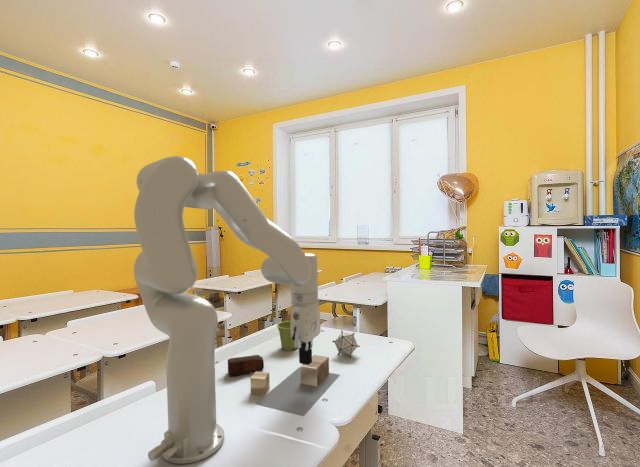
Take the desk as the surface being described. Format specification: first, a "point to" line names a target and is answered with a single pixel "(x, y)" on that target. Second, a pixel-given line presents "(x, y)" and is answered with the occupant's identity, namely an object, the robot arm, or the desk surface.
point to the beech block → (260, 383)
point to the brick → (245, 365)
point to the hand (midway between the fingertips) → (305, 362)
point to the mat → (296, 394)
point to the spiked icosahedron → (346, 343)
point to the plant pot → (285, 335)
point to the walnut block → (315, 370)
